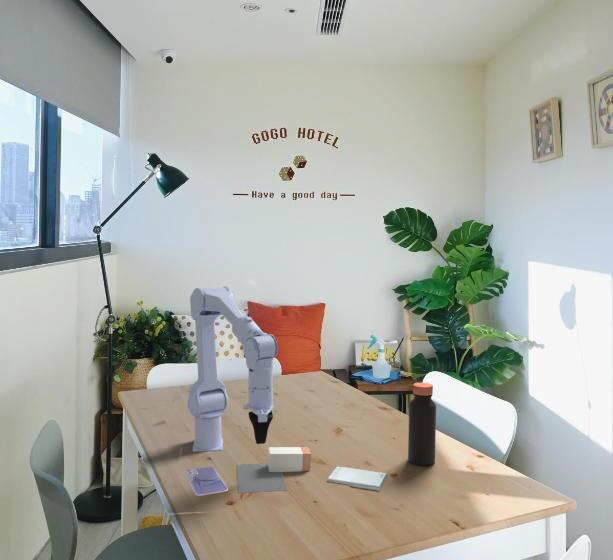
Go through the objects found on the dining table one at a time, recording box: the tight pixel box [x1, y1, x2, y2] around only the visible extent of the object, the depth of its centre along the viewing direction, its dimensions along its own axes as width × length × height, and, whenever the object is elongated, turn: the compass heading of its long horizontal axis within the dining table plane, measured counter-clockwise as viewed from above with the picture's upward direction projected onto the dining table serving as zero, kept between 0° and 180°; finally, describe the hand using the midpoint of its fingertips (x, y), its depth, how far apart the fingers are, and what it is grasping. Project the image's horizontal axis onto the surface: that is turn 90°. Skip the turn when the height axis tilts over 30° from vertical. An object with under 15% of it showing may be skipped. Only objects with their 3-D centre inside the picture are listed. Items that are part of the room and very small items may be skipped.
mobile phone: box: [183, 466, 229, 497], centre depth 131 cm, size 8×1×15 cm
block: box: [267, 446, 312, 473], centre depth 138 cm, size 4×4×10 cm
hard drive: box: [326, 466, 388, 492], centre depth 132 cm, size 2×8×12 cm
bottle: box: [407, 382, 437, 467], centre depth 143 cm, size 7×7×20 cm
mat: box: [236, 462, 288, 494], centre depth 133 cm, size 16×11×1 cm
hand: (260, 442), depth 132 cm, fingers closed
